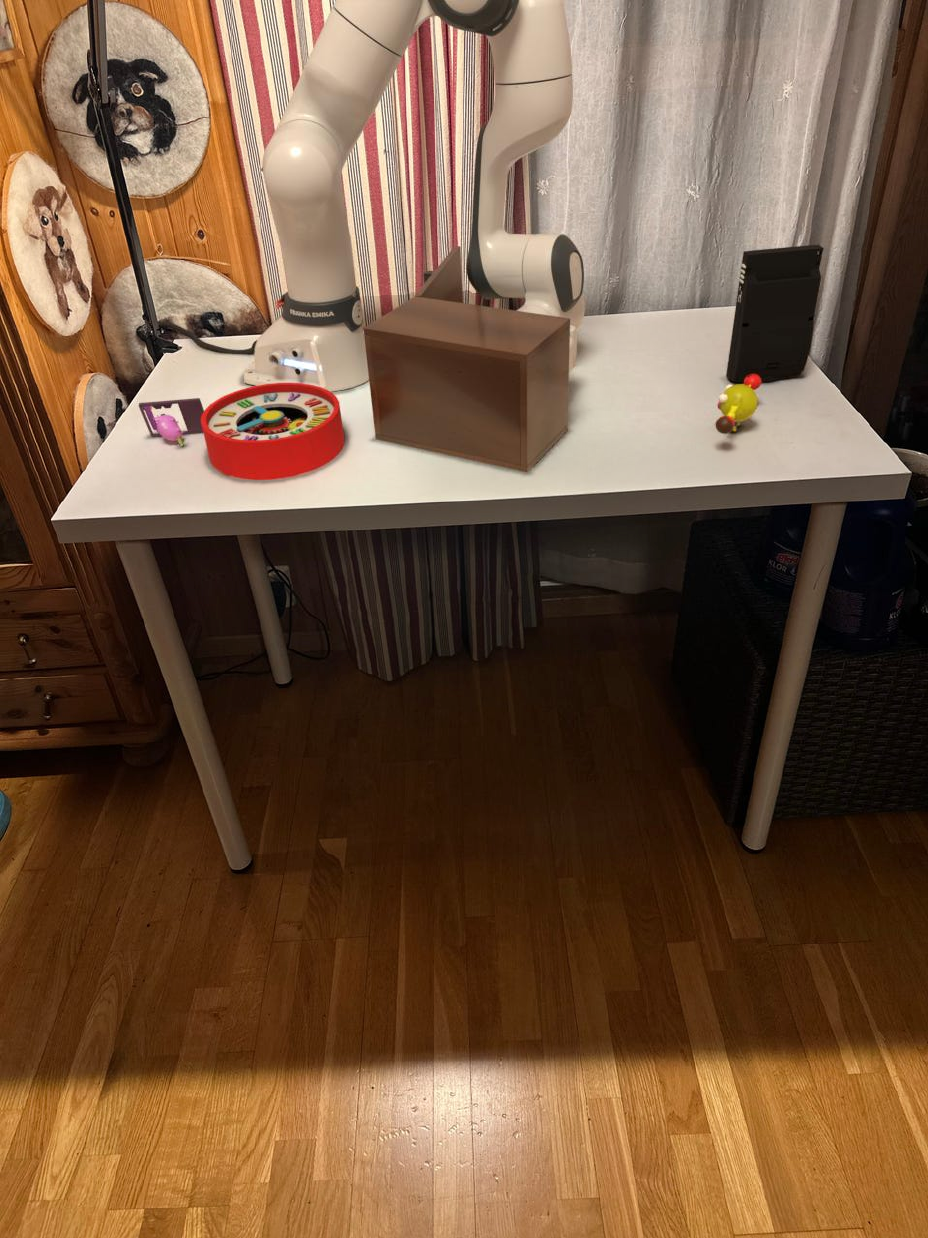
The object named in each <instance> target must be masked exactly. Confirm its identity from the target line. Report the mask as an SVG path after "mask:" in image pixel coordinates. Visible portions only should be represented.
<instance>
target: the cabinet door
mask: <svg viewBox="0 0 928 1238" xmlns="http://www.w3.org/2000/svg"><path fill="white" fill-rule="evenodd" d="M422 272H423V273H422V275H423V276H422V277H423V284H422V286H421V287H420V288H419V290H417V292H416V293H415V294H414V297H415V296H416V297H423V298H430V299H437V300H444V301H451V302H458V303H464V296H463V295H464V294H463V273H462V272H463V270H462V252H461V246H460V245H454V246H453V247H452V249H451V250H450V251H449V253H448V254H447V255H446V257H444V258H443V260H442V261H441V263H440V264H439V265H438V266H437V268H436V269H435V270H425V271H422Z"/></svg>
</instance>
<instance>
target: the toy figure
mask: <svg viewBox="0 0 928 1238" xmlns="http://www.w3.org/2000/svg"><path fill="white" fill-rule="evenodd" d="M762 383H763V382H762V380H761V377H760V376H759V375H757V374H749V375H747V376H746V377H745V380H744V383H738V384H737V383H736V384H726V386H725V388H724V391H723V393H721V394H719V396H718V402H717V406H716V407H717V409H718V410H719V411H721V414H722V415H723V416H720V417H719V418H718V419H717V420H716V422H715V429H716V430H717V432H718V433H720V434H722V435H723V434H724V435H727V434H730V433H735V434H736V433H737V429H738V428H740V426H741V422H744V421H746V420H748V419H750V418H751V417H752V416H753V415H754V413H755V412H756V410H757V409H758V403H759V400H758V395H757V393H756V390H757V389H759V388H760V386H761V385H762Z"/></svg>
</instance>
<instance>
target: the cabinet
mask: <svg viewBox="0 0 928 1238" xmlns="http://www.w3.org/2000/svg"><path fill="white" fill-rule="evenodd" d="M363 332H364V339H365V348H366V357H367V366H368V375H369V380H368V382H369V392H370V401H371V409H372V418H373V427H374V434H375V436H374V437H375V440H377V441H382V442H387V443H389V444H395V445H400V446H403V447H409V448H413V449H418V450H422V451H427V452H432V453H436V454H441V455H445V456H450V457H454V458H459V459H462V460H463V459H464V460H468V461H473V462H477V463H482V464H487V465H491V466H497V467H499V468H504V469H510V470H512V471H513V470H514V471H518V472H522V473H523V472H524V473H528V472H529V471H530V470H531V469H532V468H533V467H534V466H535V465H536V464H537V463H538V462H539V461H540V460H541V459H542V458H543V457H544V456H545V455H546V454H547V453H548V452H549V451H550V450H551V449H552V448H553V446H554V445H555V444H556V443H558V441H559V440H560V439H562V437H563V436H565V434H566V433H567V432H568V422H569V421H568V419H569V382H570V380H569V377H570V373H569V348H570V318H564V317H557V316H550V315H543V314H536V313H529V312H521V311H517V310H515V309H507V308H500V307H492V306H487V305H486V306H485V305H479V304H472V303H465V302H463V303H458V302H451V301H444V300H437V299H430V298H423V297H416V296H415V295H414V296H413V297H412V298H410V299H408V300H407V301H405V302H403V303H402V304H400V305H399V306H397V307H396V308H394V309H393V310H391V311H389V312H387V313H386V314H384V315H383V316H381V317H379V318H378V319H376V320H374V321H373V322H371V323H369V324H368V325H366V326H365V327H363Z"/></svg>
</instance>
